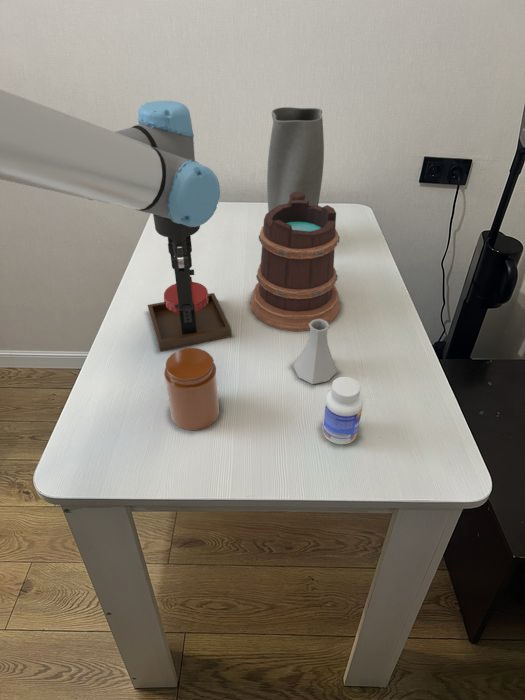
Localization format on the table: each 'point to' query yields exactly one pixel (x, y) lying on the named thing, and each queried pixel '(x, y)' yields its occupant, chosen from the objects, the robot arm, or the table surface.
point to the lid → (198, 297)
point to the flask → (316, 355)
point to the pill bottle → (342, 411)
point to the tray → (207, 324)
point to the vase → (295, 155)
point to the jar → (192, 388)
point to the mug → (297, 266)
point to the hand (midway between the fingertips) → (188, 318)
